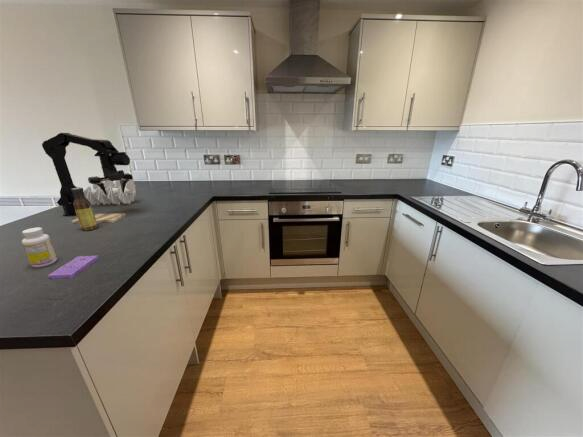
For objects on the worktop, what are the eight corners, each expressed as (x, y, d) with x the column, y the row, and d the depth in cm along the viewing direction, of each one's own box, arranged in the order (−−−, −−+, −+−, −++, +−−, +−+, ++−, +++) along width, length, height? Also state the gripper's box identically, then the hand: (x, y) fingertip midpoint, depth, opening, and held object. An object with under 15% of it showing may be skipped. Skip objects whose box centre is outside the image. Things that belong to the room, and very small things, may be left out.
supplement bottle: (43, 258, 88) (30, 226, 84) (62, 258, 89) (51, 225, 84) (25, 268, 82) (11, 233, 77) (46, 267, 82) (33, 233, 78)
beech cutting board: (72, 223, 122) (71, 220, 122) (87, 216, 133) (87, 213, 132) (113, 222, 124) (113, 220, 124) (125, 215, 134) (125, 213, 134)
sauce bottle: (101, 227, 117) (90, 187, 111) (87, 232, 112) (74, 190, 105) (92, 225, 119) (80, 186, 113) (78, 230, 114) (65, 189, 107)
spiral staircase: (100, 208, 158) (141, 205, 162) (80, 204, 141) (126, 201, 144) (99, 181, 160) (139, 179, 163) (80, 174, 143) (125, 171, 146)
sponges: (99, 259, 89) (98, 255, 88) (72, 279, 77) (70, 274, 76) (79, 260, 88) (77, 255, 88) (49, 280, 77) (47, 274, 76)
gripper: (90, 168, 115) (98, 199, 120) (133, 164, 128) (139, 193, 134) (84, 166, 121) (92, 196, 126) (126, 163, 135) (131, 190, 140)
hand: (115, 194), depth 132 cm, fingers open, 8 cm apart
